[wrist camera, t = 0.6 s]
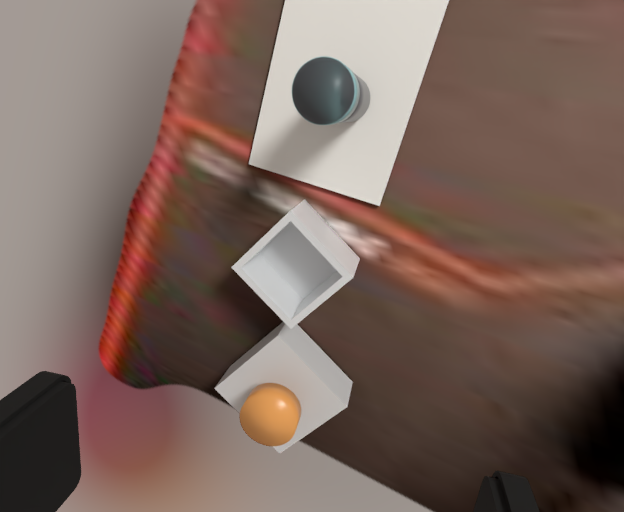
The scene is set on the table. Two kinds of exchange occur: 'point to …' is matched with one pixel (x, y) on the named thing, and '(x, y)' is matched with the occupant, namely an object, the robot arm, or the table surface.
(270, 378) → the button box
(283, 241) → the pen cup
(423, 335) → the table surface
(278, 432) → the button
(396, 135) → the paper
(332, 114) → the marker
